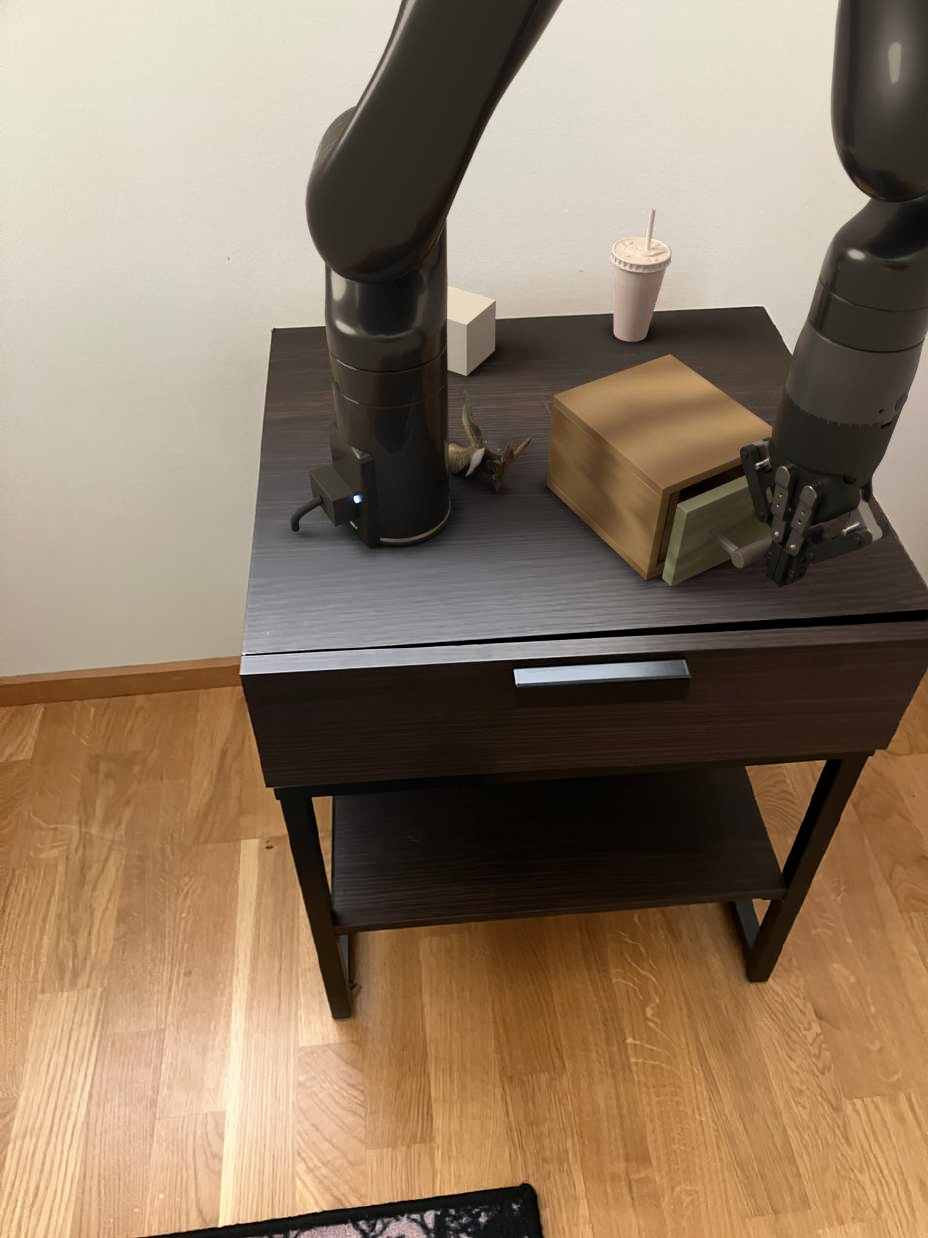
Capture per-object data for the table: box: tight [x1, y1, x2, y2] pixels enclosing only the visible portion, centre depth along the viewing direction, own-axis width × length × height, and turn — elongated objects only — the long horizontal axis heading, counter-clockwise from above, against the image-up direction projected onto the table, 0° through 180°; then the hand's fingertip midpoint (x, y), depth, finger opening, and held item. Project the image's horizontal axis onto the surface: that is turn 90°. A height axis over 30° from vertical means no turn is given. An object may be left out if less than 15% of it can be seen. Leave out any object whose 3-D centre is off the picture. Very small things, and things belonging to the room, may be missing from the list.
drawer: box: [657, 464, 773, 587], centre depth 81 cm, size 18×12×8 cm, turn 31°
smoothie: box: [609, 207, 673, 343], centre depth 103 cm, size 6×6×14 cm
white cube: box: [447, 285, 497, 377], centre depth 103 cm, size 6×6×6 cm
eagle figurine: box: [449, 389, 533, 492], centre depth 89 cm, size 8×7×9 cm
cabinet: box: [546, 353, 773, 581], centre depth 84 cm, size 15×13×10 cm
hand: (782, 578), depth 75 cm, fingers closed
